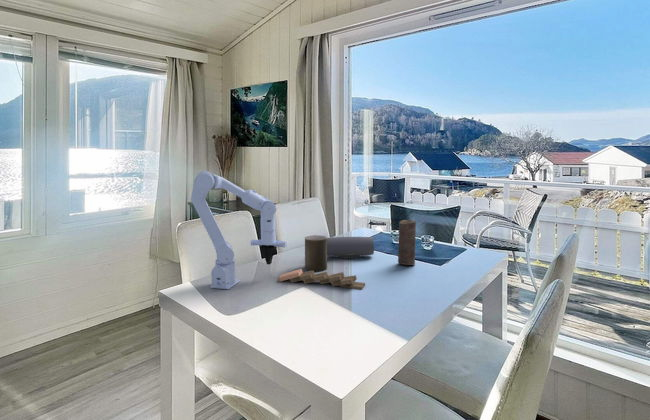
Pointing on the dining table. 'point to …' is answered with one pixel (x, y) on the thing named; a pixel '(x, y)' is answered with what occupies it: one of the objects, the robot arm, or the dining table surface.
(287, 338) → the dining table surface
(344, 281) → the domino
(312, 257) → the pillar candle
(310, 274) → the domino
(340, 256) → the bluetooth speaker
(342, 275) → the domino
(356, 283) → the domino
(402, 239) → the brown wooden cylinder
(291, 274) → the domino
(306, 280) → the domino
